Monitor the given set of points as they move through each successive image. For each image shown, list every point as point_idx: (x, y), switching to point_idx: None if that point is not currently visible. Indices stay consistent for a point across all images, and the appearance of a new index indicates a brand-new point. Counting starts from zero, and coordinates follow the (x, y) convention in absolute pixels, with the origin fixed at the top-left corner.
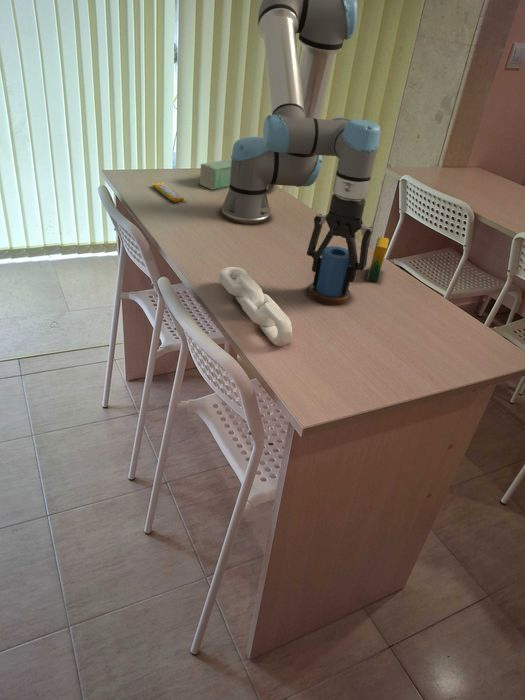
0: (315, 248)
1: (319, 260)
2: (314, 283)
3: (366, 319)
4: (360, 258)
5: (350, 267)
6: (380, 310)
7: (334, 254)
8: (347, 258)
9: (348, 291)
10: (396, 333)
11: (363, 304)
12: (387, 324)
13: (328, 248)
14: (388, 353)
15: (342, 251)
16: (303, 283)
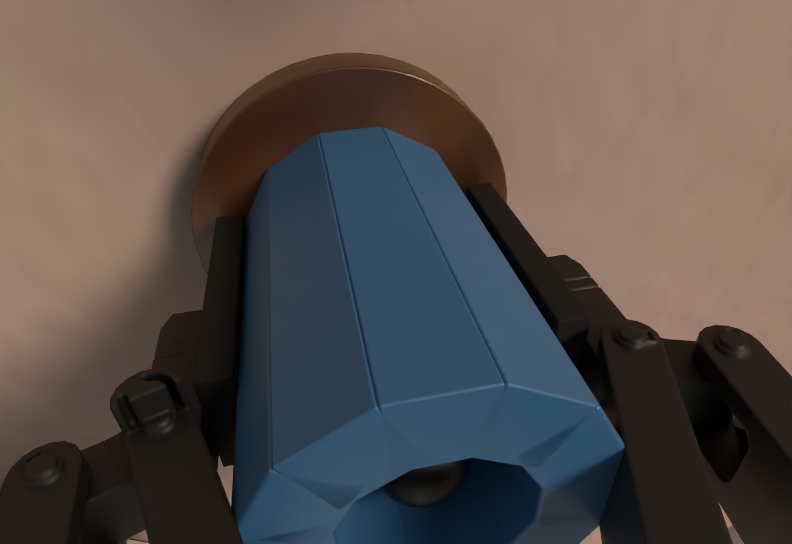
0: (75, 496)
1: (229, 441)
2: None
3: (621, 294)
4: (739, 520)
5: (565, 348)
6: (701, 155)
7: (397, 499)
8: (581, 536)
9: (488, 157)
10: (759, 304)
11: (594, 159)
12: (726, 265)
13: (288, 538)
14: None
15: (482, 449)
16: (98, 178)
